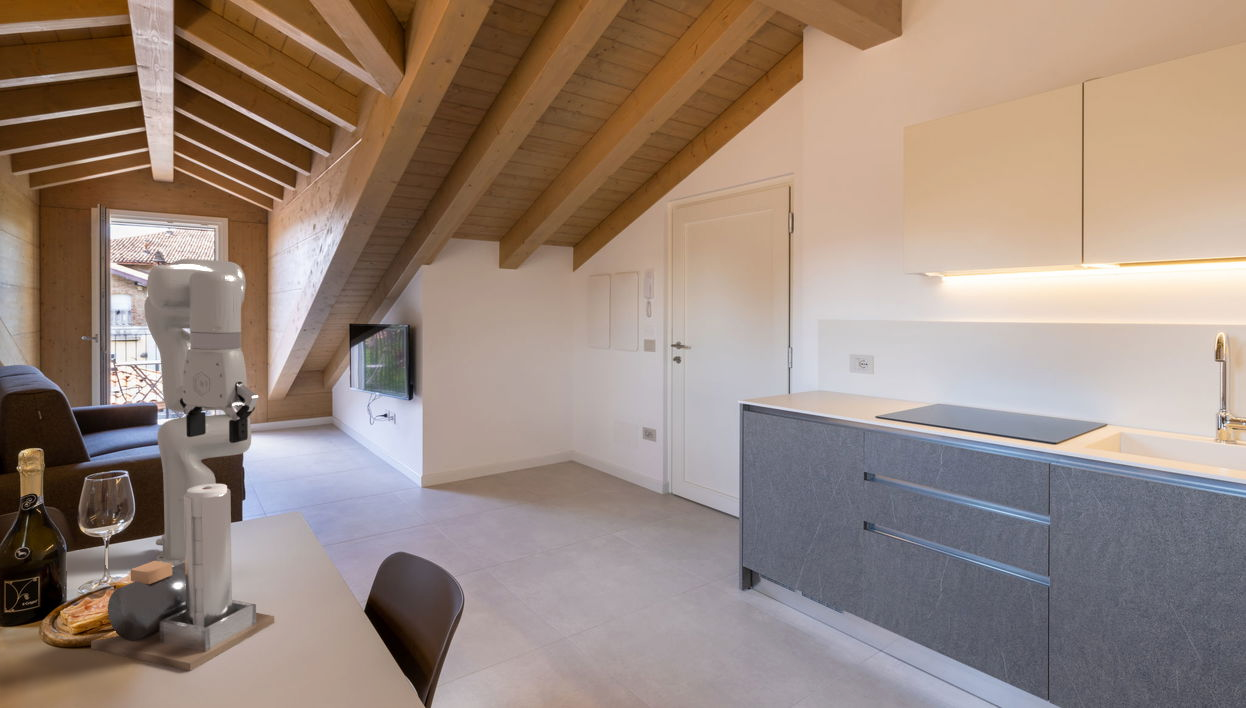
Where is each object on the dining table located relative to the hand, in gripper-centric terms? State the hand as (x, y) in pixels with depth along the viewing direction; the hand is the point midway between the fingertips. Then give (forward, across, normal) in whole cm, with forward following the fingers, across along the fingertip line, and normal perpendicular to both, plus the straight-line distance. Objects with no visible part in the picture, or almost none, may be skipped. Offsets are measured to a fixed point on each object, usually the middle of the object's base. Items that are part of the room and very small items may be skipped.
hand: (217, 438), depth 111 cm
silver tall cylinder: (+32, +6, -6) cm, 33 cm away
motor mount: (+33, +1, -7) cm, 33 cm away
